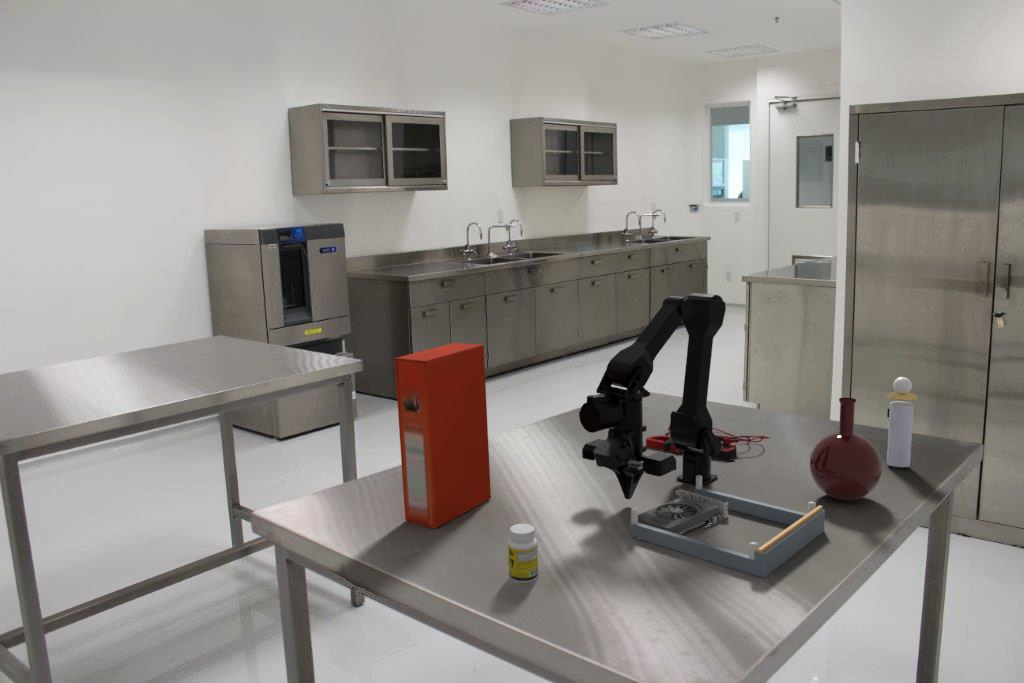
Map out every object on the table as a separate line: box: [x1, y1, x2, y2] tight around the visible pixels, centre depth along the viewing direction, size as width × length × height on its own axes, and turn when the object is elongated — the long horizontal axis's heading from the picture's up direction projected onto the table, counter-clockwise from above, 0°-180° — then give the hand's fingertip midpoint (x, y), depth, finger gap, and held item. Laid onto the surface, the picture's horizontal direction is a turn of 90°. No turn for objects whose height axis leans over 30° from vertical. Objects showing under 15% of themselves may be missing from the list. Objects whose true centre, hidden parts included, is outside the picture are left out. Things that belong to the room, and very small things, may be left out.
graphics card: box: [638, 488, 729, 535], centre depth 152 cm, size 17×4×12 cm
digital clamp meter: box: [645, 427, 771, 461], centre depth 198 cm, size 23×4×25 cm
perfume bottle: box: [886, 376, 918, 468], centre depth 175 cm, size 6×6×20 cm
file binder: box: [394, 342, 492, 529], centre depth 158 cm, size 8×17×32 cm, turn 145°
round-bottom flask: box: [808, 397, 883, 501], centre depth 159 cm, size 13×13×20 cm
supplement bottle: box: [507, 523, 539, 584], centre depth 131 cm, size 5×5×8 cm
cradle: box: [629, 475, 826, 579], centre depth 145 cm, size 23×26×5 cm
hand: (628, 498), depth 160 cm, fingers closed
